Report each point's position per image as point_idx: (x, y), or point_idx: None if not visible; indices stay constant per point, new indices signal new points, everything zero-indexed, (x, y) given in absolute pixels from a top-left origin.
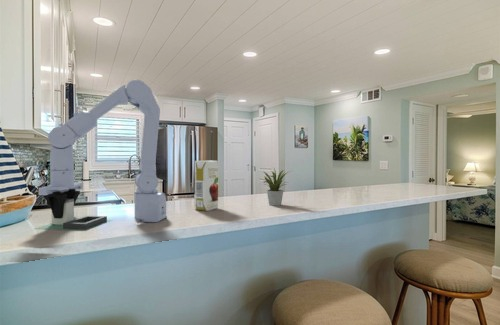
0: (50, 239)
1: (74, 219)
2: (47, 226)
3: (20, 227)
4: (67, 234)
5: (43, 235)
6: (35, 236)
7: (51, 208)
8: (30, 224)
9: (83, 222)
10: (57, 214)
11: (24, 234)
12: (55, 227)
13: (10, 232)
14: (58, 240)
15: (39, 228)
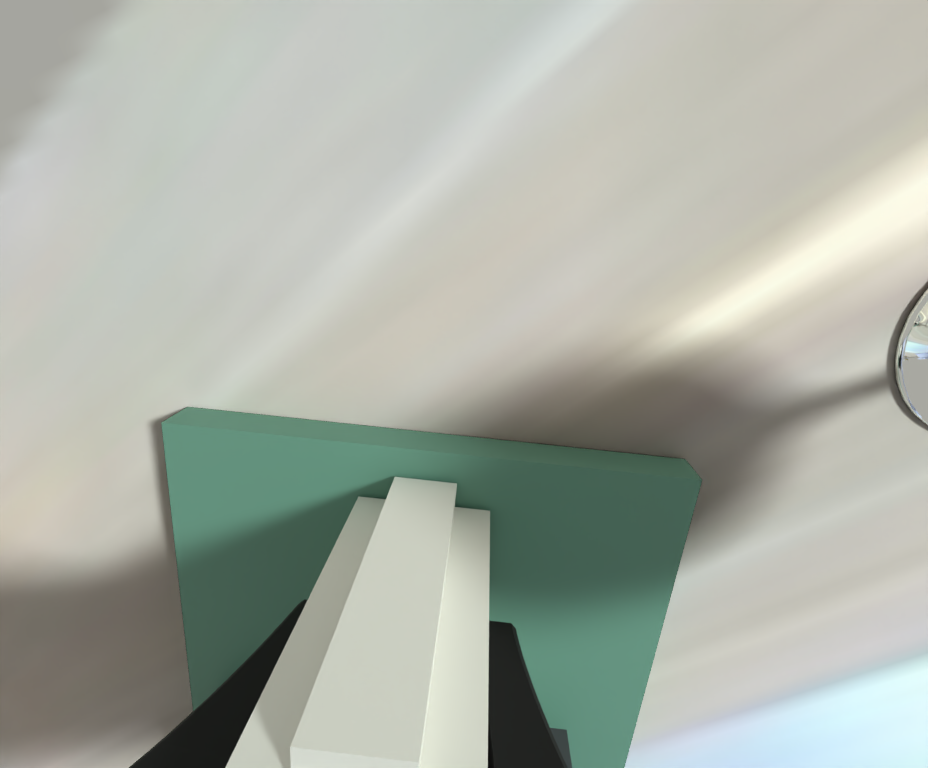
0: (40, 673)
1: (648, 587)
2: (277, 498)
3: (388, 8)
4: (189, 712)
5: (119, 558)
6: (74, 514)
7: (189, 725)
8: (581, 10)
9: None
10: None
11: (103, 360)
12: (248, 601)
13: (133, 109)
14: (37, 732)
15: (180, 473)
